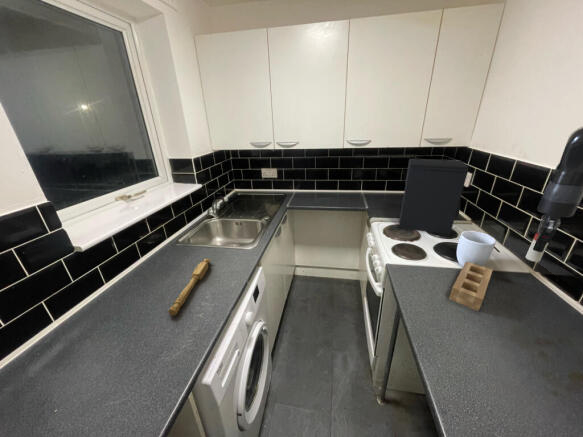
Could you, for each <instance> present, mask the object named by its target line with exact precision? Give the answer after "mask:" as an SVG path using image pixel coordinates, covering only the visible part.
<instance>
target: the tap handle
mask: <svg viewBox="0 0 583 437" xmlns="http://www.w3.org/2000/svg"><path fill="white" fill-rule="evenodd" d="M210 263H211V260H210V259H209V258H204V259H203V261H200V262H199V263H198V264H197V266H196V267H195V268H194V269H193V271H192V272H191V277H190V281H189V282H188V283H187V285H185V287H184V289H182V291H181V292H180V293H179V295H178V296H177V298H176V299H175V301H173V304H172V305H171V306H170V308H169V309H168V311H167V312H168V314H169V315H170V316H176V315H178V313H179V311H180V310H181V309H180V308H182V307H183V305H184V304H185V302H186V301H187V299H188V297H189V295H190V293H191V292H192V291H193V288H194V287H195V285H196V283H198V281H201V280H202V279H203V278H204V276H205V275H206V273H207V271H208V269H209V264H210Z"/></svg>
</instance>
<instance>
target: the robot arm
mask: <svg viewBox="0 0 583 437" xmlns="http://www.w3.org/2000/svg"><path fill="white" fill-rule="evenodd" d="M582 199H583V126H582V125H581V127H578V128H577V129H575V130H573V131H572V132H571V133H570V134H569V135H568V138H567V140H566V144H565V146H564V149H563V152H562V155H561V157H560V161H559V163H558V164H556V167H555V168H554V170H553V173H552V175H551V178H550V180H549V182H548V184H547V186H546V187H545V189H544V191H543V194H542V196H541V198H540V201H539V203H538V205H537V206H536V210H537V211H538V212H539V213H541V214H543V215H541V217H540V220H539V224H538V226H537V232H536V233H539V235H538V237H537V238H536V239H537V240H536V243H535V245H534V247H533V250H534V251H538V252H543V250H544V248H545V246H546V244H547V243H548V244H549V243H550V242H551V240H552V238H553V236H554V235H555V233H556V232H557V230H558V228H559V227H560V225H561V223H562V222H561V218H571V217H573V216H574V215H575V213H576V211H577V209H578V207H579V205H580V204H581V200H582ZM542 236H545V237H547V238H544V237H542Z"/></svg>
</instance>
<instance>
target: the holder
mask: <svg viewBox="0 0 583 437" xmlns="http://www.w3.org/2000/svg"><path fill="white" fill-rule="evenodd" d="M492 273H493V269H492V268H489V267H485V266H484V265H483V266H480V265H476V264H473V263H470V262H467V261H466V262H465V264H464V266H462V268H461V270H460V272H459V274H458V276H457V278H456V279H455V282H454V284H453V286H452V288H451V291H450V294H449V297H448V299H449V300H450V301H453V302H455V303H457V304H460V305H462V306H465V307H467V308H469V309H471V310H474V311H476V312H479V311H480V309H481V307H482V303H483V301H484V298H485V296H486V292H487V289H488V286H489V282H490V280H491V277H492Z"/></svg>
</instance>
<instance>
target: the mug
mask: <svg viewBox="0 0 583 437" xmlns="http://www.w3.org/2000/svg"><path fill="white" fill-rule="evenodd" d="M496 243H497V240H496V239H495V237H493V236H491V234H490V235H489V234H487V233H483V232H481V231H476V230H465V231H462V232H461V233H460V236H459V239H458V242H457V246H456V259H457V262H458V263H459V265H460V266H462V267H463V266H464V264H465V262H466V261H467V262H470V263H473V264H476V265H480V266H483V267H484V265H486V263H487V262H488V261H489V259H490V257H491V256H492V254H493V251H494V249H495V245H496Z"/></svg>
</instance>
